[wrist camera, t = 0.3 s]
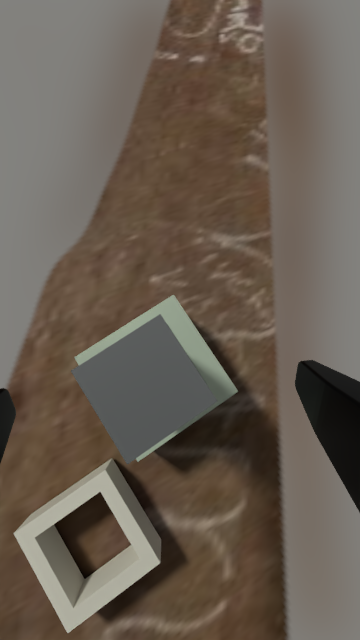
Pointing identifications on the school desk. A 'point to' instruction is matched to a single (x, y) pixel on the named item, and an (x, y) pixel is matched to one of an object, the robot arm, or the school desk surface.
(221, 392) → the raised socket
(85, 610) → the low collar
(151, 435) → the plug
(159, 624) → the school desk surface
